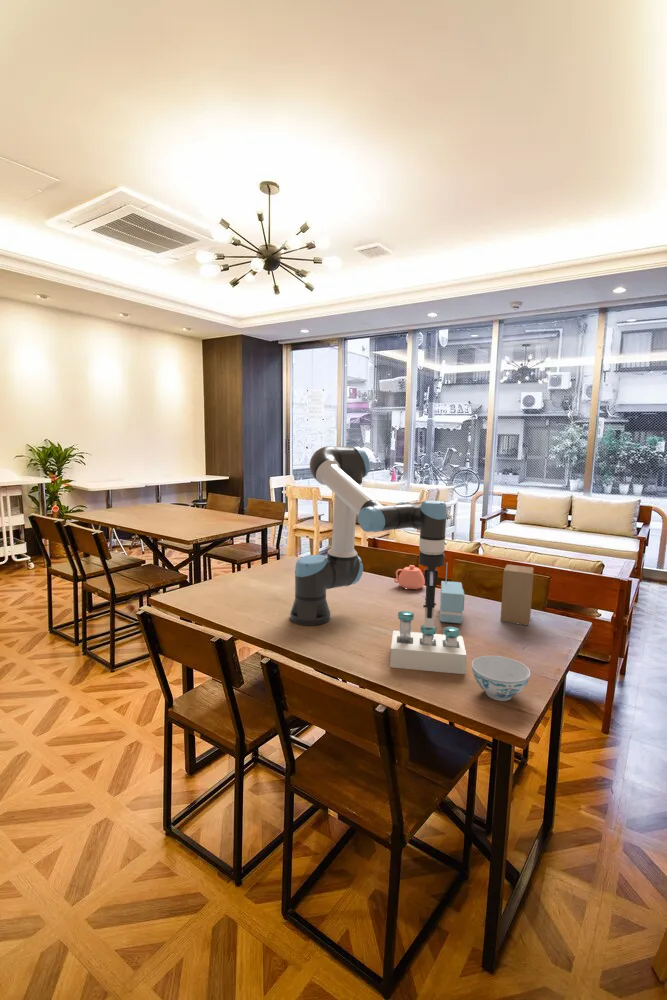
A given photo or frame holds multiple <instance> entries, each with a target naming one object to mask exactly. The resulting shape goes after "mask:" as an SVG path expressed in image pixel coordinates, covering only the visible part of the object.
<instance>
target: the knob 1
mask: <svg viewBox="0 0 667 1000" xmlns="http://www.w3.org/2000/svg"><path fill="white" fill-rule="evenodd" d="M414 617H415V614H414V612H412V611H410V610H401V611H398V612H397V618H398V620H399V631H400V640H399V643H406V644H410V641H411V632H412V621H414Z"/></svg>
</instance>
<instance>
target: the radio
mask: <svg viewBox="0 0 667 1000" xmlns="http://www.w3.org/2000/svg"><path fill="white" fill-rule="evenodd" d="M445 565H446V567H445V581H444V580H441V582H440V599H439V600H440V602H439V604H440V605H439V621H440V622H442V623H447V624H448V623H449V624H462V623H463V621H464V620H463V619H464V617H463V612H464V609H465V590H464V588H463V584H462V582H459V581H449V580H448V581H447V579H448V565H449V563H448V562H446V564H445Z"/></svg>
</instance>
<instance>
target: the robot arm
mask: <svg viewBox="0 0 667 1000" xmlns="http://www.w3.org/2000/svg"><path fill="white" fill-rule="evenodd" d="M370 467H371V464H370V458H369V456H368V454H367V452H366V451H365V450H364V449H363V448H361V447H360V446H353V445H352V446H351V445H349V446H348V445H347V446H343V445H342V446H324V447H321V448H319V449H317V450H316V451H315V452H314V453H313V454H312V456H311V458H310V461H309V472H310V473H311V475H312V477H313V478H314V479H315V481H317V482H318V483H319V484H321V485H323V486H326V487H327V488H329V490H331V491H332V492H333V493H334V499H333V502H334V503H333V521H332V534H331V535H332V536H331V538H332V539H331V547H330V548H329V549H328V550H327V557H326V556H325V555H322V554H311V555H310V554H309V555H305V556H302V557H300V558H299V559H298V560H296V562H295V567H294V583H295V585H294V587H295V588H294V601H293V603H292V607H291V608H290V609H291V610H290V613H289V614H290V618H289V619H290V621H292V623H295V624H297V625H301V626H320V625H324V624H326V623H328V622H329V621H330V620H331V610H330V607H329V603H328V600H327V590H331V589H336V588H341V587H349V586H352V585H355V584H357V583H358V582H359V581H360V580H361V578H362V576H363V572H364V565H363V563H362V561H363V560H362V558H361V557H360V556H359V555H358V552H357V550H356V549H355V539H356V538H355V537H356V536H355V535H356V521H357V522H358V524H359V526H360V529H362V531H363V532H366V533H379V532H383V531H384V532H385V531H390V530H391V531H392V530H400V529H408V528H409V529H414V530H419V549H418V550H419V551H420V552H419V555H418V564H419V565H420V566H423V567H427V568H424V573H423V575H424V579H425V584H424V586H425V597H424V598H425V599H424V601H425V602H424V604H423V606H422V607H423V608H424V622H423V625H424V627H426V628H433V626H434V620H435V607H436V606H437V603H436V602H435V601H436V599H435V597H436V587H437V586H438V585H437V583H438V581H437V580H438V577H439V571H438V569H436V568H441V567H443V566H444V565H445V557H446V555H445V553H444V552H445V545H446V546H447V545H448V542H447V541H446V531H447V529H446V527H447V517H448V516H447V504H446V502H445V501H442V500H436V499H435V500H434V499H433V500H432V499H431V500H430V499H429V500H422V501H421V502H420V503H421V505H420V504H416V503H411V502H404V501H403V502H400V501H399V502H398V503H396V504H389V505H383V504H382V503H381V502H380V501H378V500H377V499H376V498H375V497H374V496H373V495H371V494H370V493H369V492H368V491H367V490H366V489H365V488H364V487H363V486H361V485H362V484H363V478H365V477H367V476H368V474H369V472H370ZM356 519H357V520H356Z"/></svg>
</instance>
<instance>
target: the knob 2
mask: <svg viewBox="0 0 667 1000" xmlns="http://www.w3.org/2000/svg"><path fill="white" fill-rule="evenodd" d="M460 632H461V631H460V628H458V627H455V626H446V627H444V628H443V635H446V640H445V647H452V648H456V647H457V637H458V636H461V635H460Z"/></svg>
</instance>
